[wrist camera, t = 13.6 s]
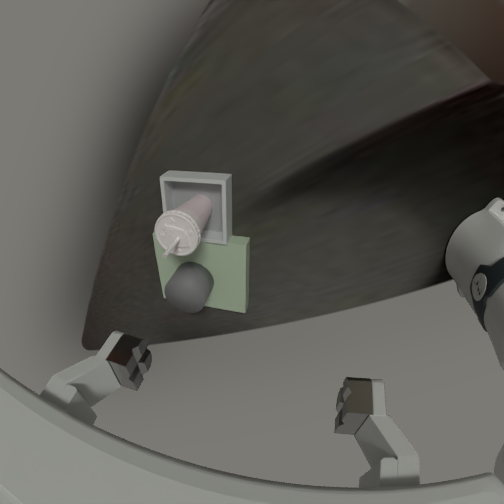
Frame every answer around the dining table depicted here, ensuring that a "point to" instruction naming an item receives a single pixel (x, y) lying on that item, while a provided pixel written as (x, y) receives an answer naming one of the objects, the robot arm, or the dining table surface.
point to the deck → (205, 248)
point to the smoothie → (183, 226)
